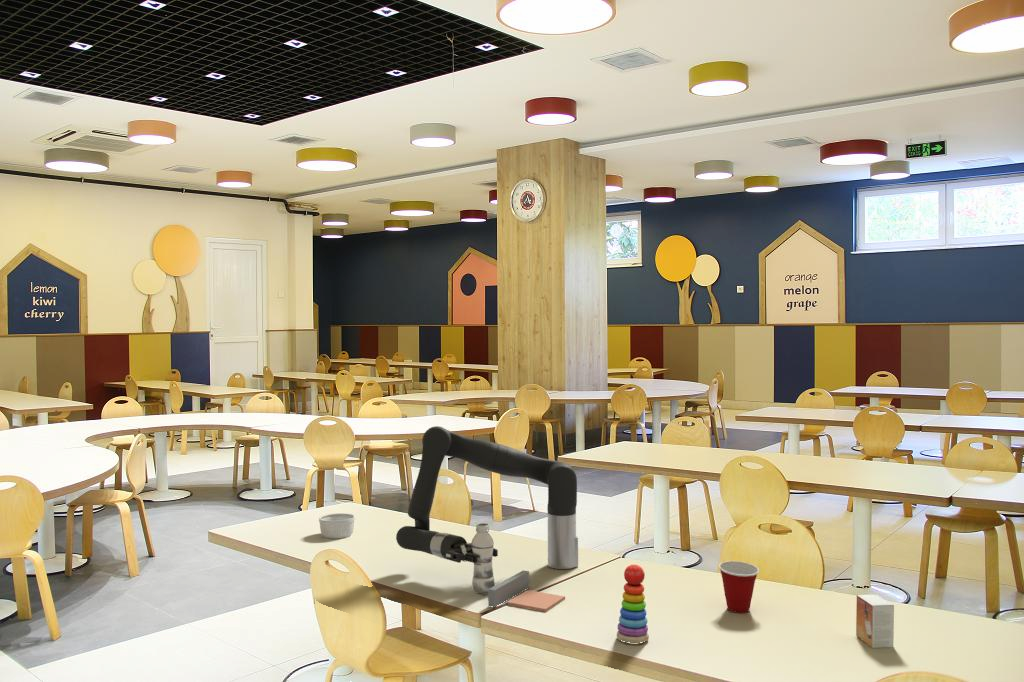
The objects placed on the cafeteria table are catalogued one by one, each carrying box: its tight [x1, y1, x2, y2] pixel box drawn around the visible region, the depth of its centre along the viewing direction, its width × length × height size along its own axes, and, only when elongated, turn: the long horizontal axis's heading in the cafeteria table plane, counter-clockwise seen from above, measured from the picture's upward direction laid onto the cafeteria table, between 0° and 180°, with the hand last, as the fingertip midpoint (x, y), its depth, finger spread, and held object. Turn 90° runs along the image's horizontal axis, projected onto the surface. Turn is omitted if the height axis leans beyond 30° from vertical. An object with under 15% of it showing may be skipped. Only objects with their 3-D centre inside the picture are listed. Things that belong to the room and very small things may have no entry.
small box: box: [855, 594, 895, 649], centre depth 207 cm, size 8×6×10 cm
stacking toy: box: [616, 564, 650, 643], centre depth 209 cm, size 8×8×19 cm
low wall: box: [487, 569, 530, 608], centre depth 242 cm, size 20×2×5 cm, turn 150°
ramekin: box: [318, 512, 356, 540], centre depth 314 cm, size 13×13×7 cm
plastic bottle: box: [470, 522, 496, 594], centre depth 246 cm, size 6×7×20 cm
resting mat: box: [507, 589, 566, 613], centre depth 238 cm, size 12×12×1 cm
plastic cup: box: [718, 560, 760, 614], centre depth 230 cm, size 11×11×12 cm
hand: (487, 556), depth 245 cm, fingers open, 8 cm apart
